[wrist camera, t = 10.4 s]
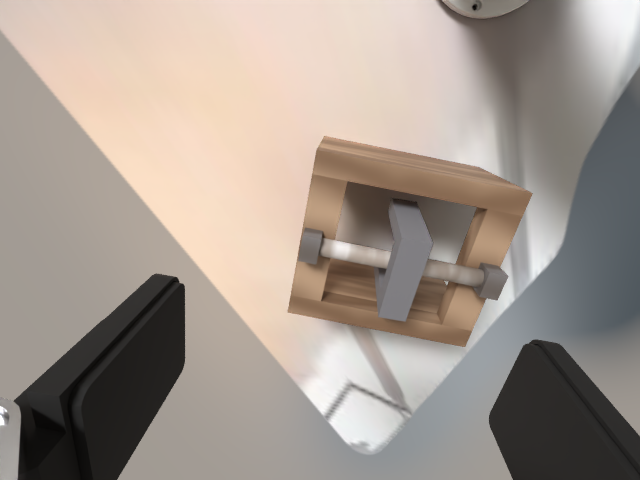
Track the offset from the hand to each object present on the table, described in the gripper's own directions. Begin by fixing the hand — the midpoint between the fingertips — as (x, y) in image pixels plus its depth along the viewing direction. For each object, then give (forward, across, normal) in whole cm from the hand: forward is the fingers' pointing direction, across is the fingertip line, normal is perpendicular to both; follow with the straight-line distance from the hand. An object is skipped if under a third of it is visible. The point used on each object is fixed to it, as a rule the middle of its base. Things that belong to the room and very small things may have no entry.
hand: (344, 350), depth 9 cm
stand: (+33, -6, +6) cm, 34 cm away
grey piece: (+25, -6, +6) cm, 26 cm away
